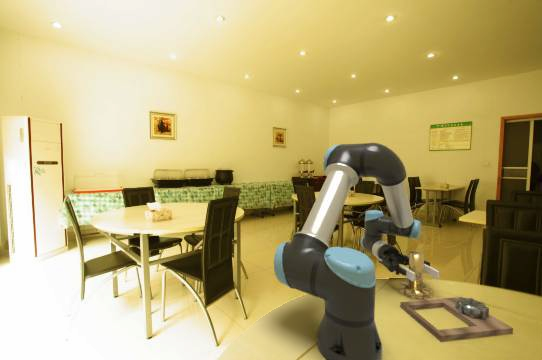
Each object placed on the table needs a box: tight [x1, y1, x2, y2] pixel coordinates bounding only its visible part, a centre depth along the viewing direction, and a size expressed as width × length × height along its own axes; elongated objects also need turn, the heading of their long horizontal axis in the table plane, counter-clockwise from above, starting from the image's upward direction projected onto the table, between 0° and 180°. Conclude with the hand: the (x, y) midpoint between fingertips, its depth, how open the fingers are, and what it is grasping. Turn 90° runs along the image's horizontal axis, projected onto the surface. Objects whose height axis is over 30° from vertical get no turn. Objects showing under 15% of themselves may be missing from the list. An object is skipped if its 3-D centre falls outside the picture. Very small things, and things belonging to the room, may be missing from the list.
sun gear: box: [455, 296, 490, 320], centre depth 75 cm, size 8×8×2 cm
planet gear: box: [399, 250, 433, 301], centre depth 88 cm, size 10×10×14 cm
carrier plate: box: [399, 296, 514, 343], centre depth 74 cm, size 21×16×2 cm
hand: (426, 276), depth 84 cm, fingers open, 8 cm apart
